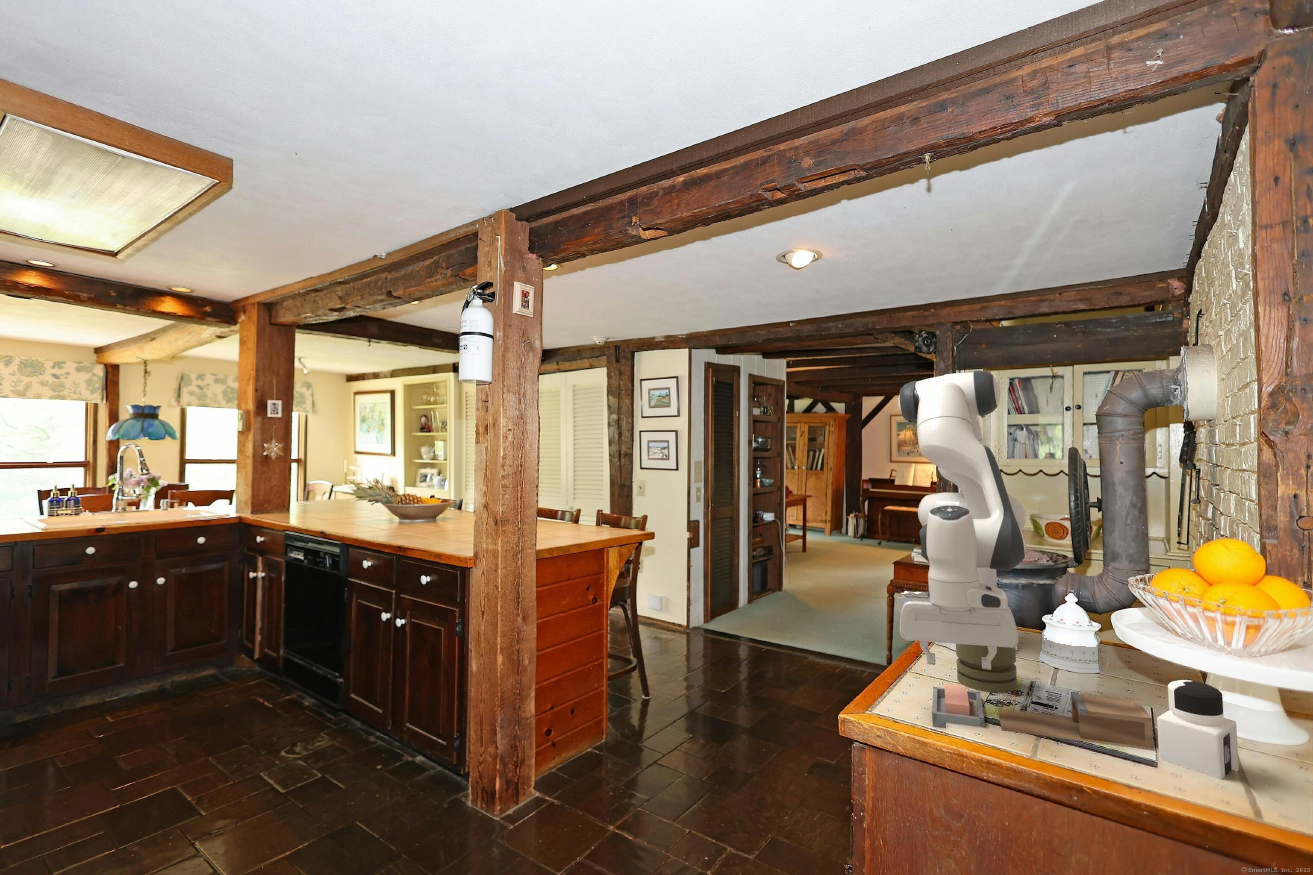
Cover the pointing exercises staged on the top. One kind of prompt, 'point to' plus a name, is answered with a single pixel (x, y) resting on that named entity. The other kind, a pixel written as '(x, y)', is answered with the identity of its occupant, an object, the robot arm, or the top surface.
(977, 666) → the piston
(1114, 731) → the brown slab
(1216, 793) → the top surface
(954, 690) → the salmon pink rectangular prism
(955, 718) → the tray
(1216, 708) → the container
